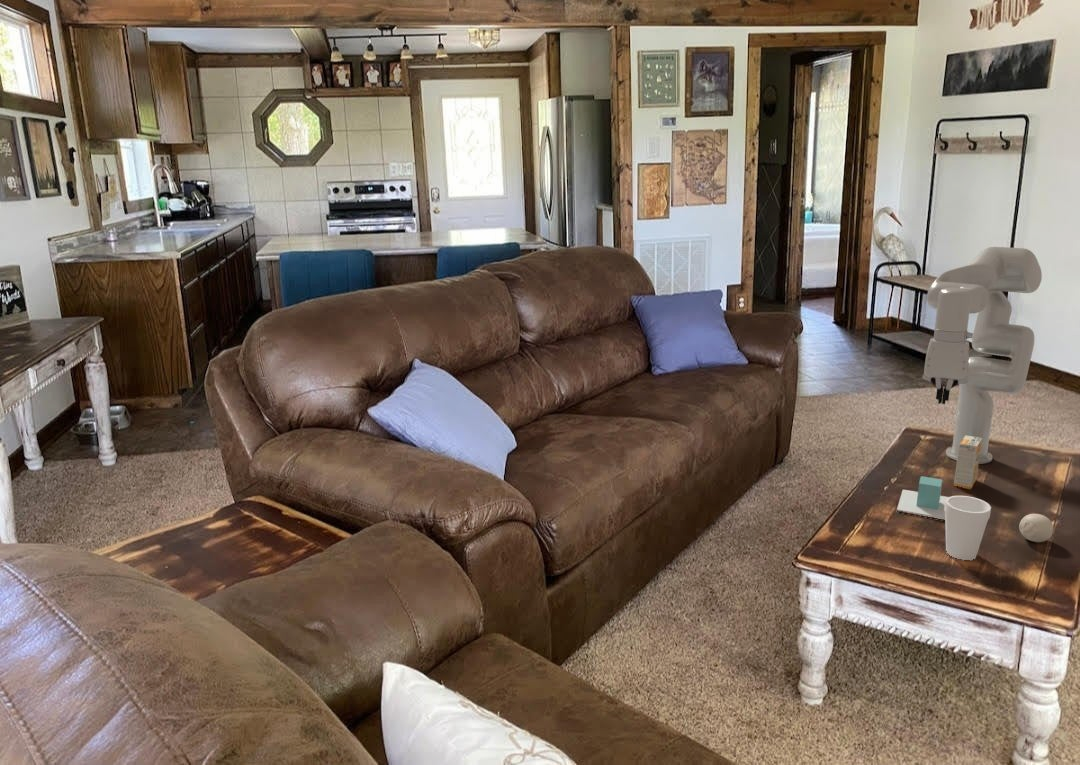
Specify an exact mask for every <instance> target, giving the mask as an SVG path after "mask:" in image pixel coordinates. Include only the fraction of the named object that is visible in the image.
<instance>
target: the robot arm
mask: <svg viewBox="0 0 1080 765" xmlns="http://www.w3.org/2000/svg"><path fill="white" fill-rule="evenodd" d="M1042 273H1043V272H1042V268H1041V265H1040V263H1039V261H1038V259H1037V257H1036V255H1035V254H1034V252H1033V251H1031V250H1030V249H1028V248H1024V247H1023V248H1022V247H1006V246H1005V247H1004V246H990V247H986V248H984V249H983V250H981V251H980V252H979V253H978V254H977V255H976V256H975V257H974V258H973V260H972V261H971V262H970V263H969V264H967V265H963V266H960V267H957V268H954V269H949V270H946V271H945V272H942V273H941V274H939V275H938V276H937V277H936V279H935V280H934V281H933V282H932V283H931V285H930V287H929V288H928V291H927V295H926V302H927V304H928V305H929V307H931V308H932V309H934V310H936V316H935V324H934V330H933V331H934V333H933V337H932V338H930V340H929V342H928V346H927V350H926V355H925V361H924V369H923V370H924V371H923V374H922V380H925V381H927V382H931V383H932V385H933V386H934V387H935V388H936V396H935V400H937V401H938V402H937V404H938V405H939V404H940V405H941V404H942V405H946V401H949V399H950V391H951V389H952V388H955V387H956V386H957V385H958V401H957V409H956V416H955V424H954V431H953V432H954V433H953V439H952V446H949V447H947V449H946V450H945V454H946V456H947V457H948V458H950V459H952V460H954V461H956V462H957V457H958V449H959V443H960V442H961V440H962V439H963V437H964V436H965V435H966V436H973V437H979V438H982V445H981V452H980V458H979V465H982V464H988V463H990V462H992V460H993V455H992V453H990V452H989V451H988V448H989V444H990V443H989V441H990V435H991V434H990V433H991V429H992V428H991V427H992V421H993V415H994V414H993V413H994V406H995V404H994V400H993V398H992V396H991V395H990V393H989V392H995V393H1000V394H1009V395H1017V394H1020V393H1021V392H1022V391H1023V389H1024V387H1025V386H1026V385H1025V384H1026V381H1027V376H1028V373H1029V368H1030V364H1031V359H1032V355H1033V351H1034V345H1035V333H1034V331H1033V329H1032V328H1030V327H1028V326H1025V325H1021V324H1020V325H1019V324H1013V323H1012V324H1011V323H1010V321H1011V320H1010V319H1011V315H1012V311H1013V307H1012V305H1011V303H1010V301H1009V299H1008V298H1007V296H1006V295H1005V294H1004V293H1003V292H1008V293H1020V294H1032V293H1034V292H1036V291H1037V290H1038V289H1039V287H1040V285H1041V282H1042V278H1043V274H1042ZM976 313H977V316H976V321H975V325H974V330H973V332H970V331H969V330H968V325H969V318H970V314H976ZM968 339H971V346H972V349H973V350H974V351H976V352H977V353H982V354H986V355H987V354H988V355H991V356H993V355H994V356H1000V357H1007V358H1010V359H1011V360H1004V359H998V358H991V357H984V356H970V341H969V340H968ZM942 379H944V380H945V379H946V380H947V383H946V384H945V386H944V385H943V383H942V382H943V381H942ZM943 386H944V387H943Z"/></svg>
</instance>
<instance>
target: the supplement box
mask: <svg viewBox="0 0 1080 765" xmlns="http://www.w3.org/2000/svg"><path fill="white" fill-rule="evenodd" d="M981 445H982V438H979V437H973V436H966V435H965V436H964V437H963V439H962V440H961V442H960V443H959V449H958V457H957V461H956V467H955V472H954V481H953V487H957V486H958V488H961V487H962V488H961V489H967V490H972V488H973V486H974V484H975V483H976V481H977V478H978V471H979V465H980V464H979V458H980V452H981Z"/></svg>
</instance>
